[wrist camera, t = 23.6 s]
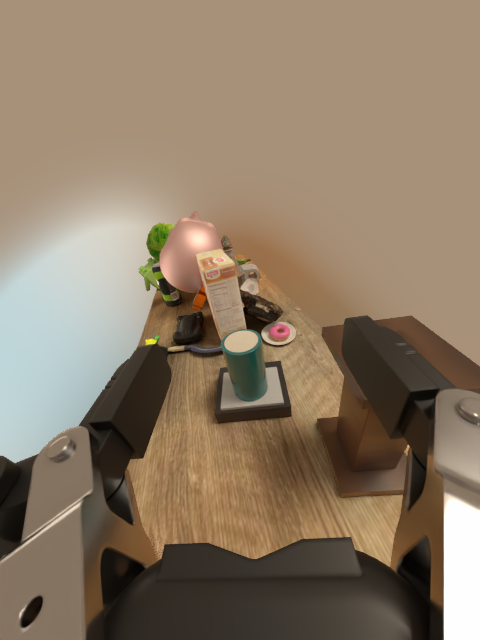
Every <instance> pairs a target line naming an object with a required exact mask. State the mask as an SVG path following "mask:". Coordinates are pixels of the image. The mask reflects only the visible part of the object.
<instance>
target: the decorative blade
mask: <svg viewBox="0 0 480 640" xmlns="http://www.w3.org/2000/svg"><path fill="white" fill-rule="evenodd" d="M167 349H168V352H170V351H173V352H174V351H183V350H189V349H190V350H192V351H194V352H199V353H211V352H217V351H222V348H221V346H218V347H212V348H202V347H199V346H198V345H187V346H186V345H184V346H174V347H168V348H167Z"/></svg>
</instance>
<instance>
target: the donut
mask: <svg viewBox="0 0 480 640" xmlns="http://www.w3.org/2000/svg"><path fill="white" fill-rule="evenodd" d="M261 335H262V338H263V339H264V340H265V341H266V342H267V343H270V344H273V345H283V344H287V343H289V342H291V341H292V340H293V339H294V338H295V336H296V330H295V328H294V327H293V326H292V325H291V324H288V323H285V322H276V321H275V322H274V323H271V324H268V325H267V326H265V327H264V328H263V330H262V333H261Z"/></svg>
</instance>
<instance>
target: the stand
mask: <svg viewBox="0 0 480 640" xmlns="http://www.w3.org/2000/svg"><path fill="white" fill-rule="evenodd" d="M374 322H375V323H376V324H377V325H378V326H379V327H380V326H385V327H387V328H389V329H391V330H393V331H395V332H396V333H398V334H399V335H400V336H401V337H403V338H404V339H405V340H406V341H407V342H408V344H409V345H411V346H412V347H413V348H414V349H415V350H417V353H420V354H421V355H422V356H423V357H424V358H425V359H426V360H427V361H428V362H429V363H430V364H432V365H433V366H434V367H435V368H436V369H437V370H438V371H439V372H440V373H441V374H442V375H443V376H444V377H446V378H447V379H448V380H449V381H450V382H451V383H452V384H453V385H454V386H455V387H456V388H458V389H463V390H468V391H472V392H475V393H478V394H480V367H479V366H478V365H477V364H476V363H474V362H473V361H471V360H470V359H469V358H467V357H466V356H465V355H463V354H462V353H461V352H459V351H458V350H457V349H455V348H454V347H453V346H452V345H450V344H449V343H447V342H446V341H445V340H443V339H442V338H441V337H439V336H438V335H437V334H435V333H434V332H433V331H431V330H430V329H429V328H427V327H426V326H425V325H423V324H422V323H421V322H419V321H418V320H417V319H415V318H414V317H413V316H405V317H398V318H390V319H382V320H375V321H374ZM343 329H344V325H336V326H329V327H323V328H322V337H323V339H324V341H325V342H326V344H327V346H328V348H329V350H330V352H331V353H332V355H333V357H334V359H335V361H336V362H337V364H338V366H339V368H340V370H341V371H342V373H343V375H344V382H343V389H342V395H341V402H340V409H339V416H338V417H332V418H321V419H317V425H318V428H319V431H320V434H321V438H322V441H323V444H324V447H325V450H326V453H327V456H328V459H329V462H330V465H331V468H332V471H333V475H334V478H335V481H336V484H337V487H338V490H339V493H340V496H341V497H355V496H372V495H390V494H403V491H404V483H405V474H406V465H407V456H406V454H405V453H404V451H405V449H406V447H407V445H408V443H407V441H406V440H405V438H400V439H390V438H389V436H388V434H387V433H386V431H385V429H384V428H383V426H382V424H381V423H380V421H379V419H378V417H377V416H376V414H375V412H374V411H373V409H372V407H371V406H370V404H369V402H368V401H367V399H366V397H365V396H364V394H363V392H362V390H361V389H360V387H359V385H358V384H357V382H356V380H355V379H354V377H353V375H352V374H351V372H350V370H349V368H348V367H347V365H346V363H345V362H344V359H343V356H342V351H341V346H342V337H343Z"/></svg>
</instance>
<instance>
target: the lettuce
mask: <svg viewBox="0 0 480 640" xmlns="http://www.w3.org/2000/svg"><path fill="white" fill-rule="evenodd" d="M174 227H175V225H172V224H163V223H159V224H157V225H155V226H153V228H152V229H151V231H150V233H149V234H148V239H147V247H148V250H149V252H150V254H151V255H152V256H153V257H154V258H155V259H156V260H158V261H160V252H161V250H162V248H163V247H164V245H165V243H166V241H167V239H168V236H169V231H170V230H172V229H173V228H174Z"/></svg>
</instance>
